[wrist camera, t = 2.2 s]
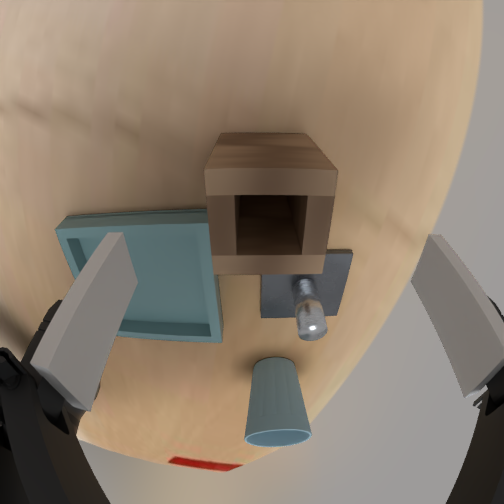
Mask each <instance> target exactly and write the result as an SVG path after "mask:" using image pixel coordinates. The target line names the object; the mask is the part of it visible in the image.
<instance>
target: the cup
mask: <svg viewBox="0 0 504 504" xmlns="http://www.w3.org/2000/svg"><path fill="white" fill-rule="evenodd" d="M311 436H312V433H311V430H310V425H309V421H308V417H307V413H306V409H305V405H304V401H303V397H302V393H301V388H300V384H299V380H298V376H297V372H296V368H295V365H294V363H293V362H292V361H291V360H289V359H286V358H281V357H272V358H266V359H263V360H261V361H259V362H258V363H256V364H255V366H254V369H253V376H252V384H251V392H250V400H249V408H248V416H247V424H246V431H245V438H244V440H245V442H247V443H248V444H251V445H255V446H261V447H282V446H290V445H294V444H298V443H301V442H304V441H306V440H308V439H309V438H310V437H311Z"/></svg>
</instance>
